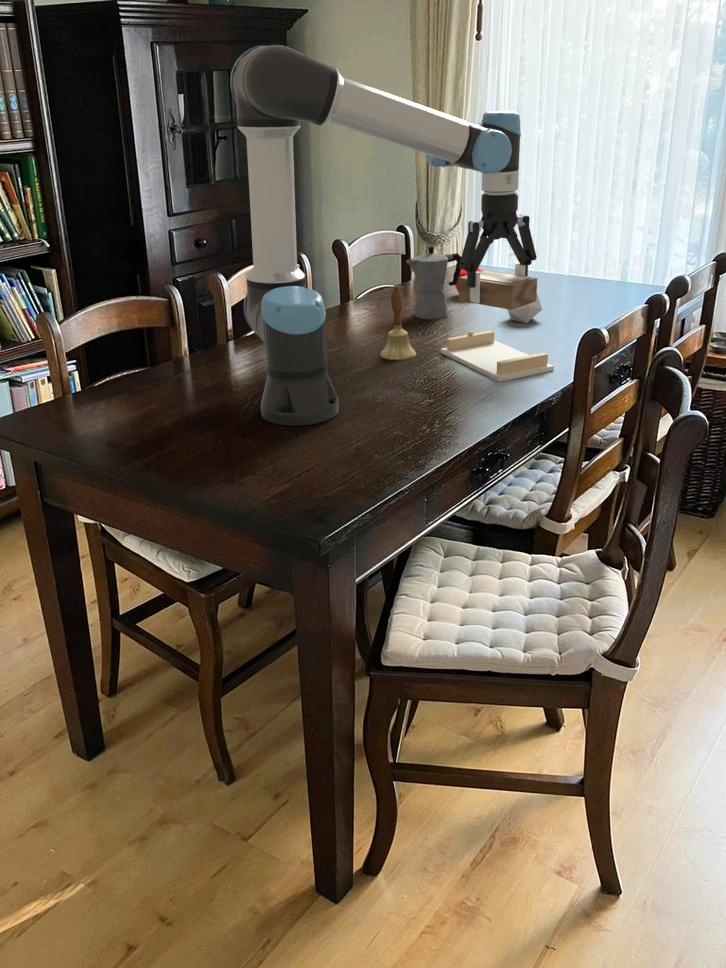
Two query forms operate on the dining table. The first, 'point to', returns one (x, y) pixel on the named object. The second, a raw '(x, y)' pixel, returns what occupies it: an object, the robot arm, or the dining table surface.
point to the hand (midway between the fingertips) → (497, 298)
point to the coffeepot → (432, 283)
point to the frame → (501, 290)
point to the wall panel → (494, 357)
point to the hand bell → (397, 333)
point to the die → (525, 311)
